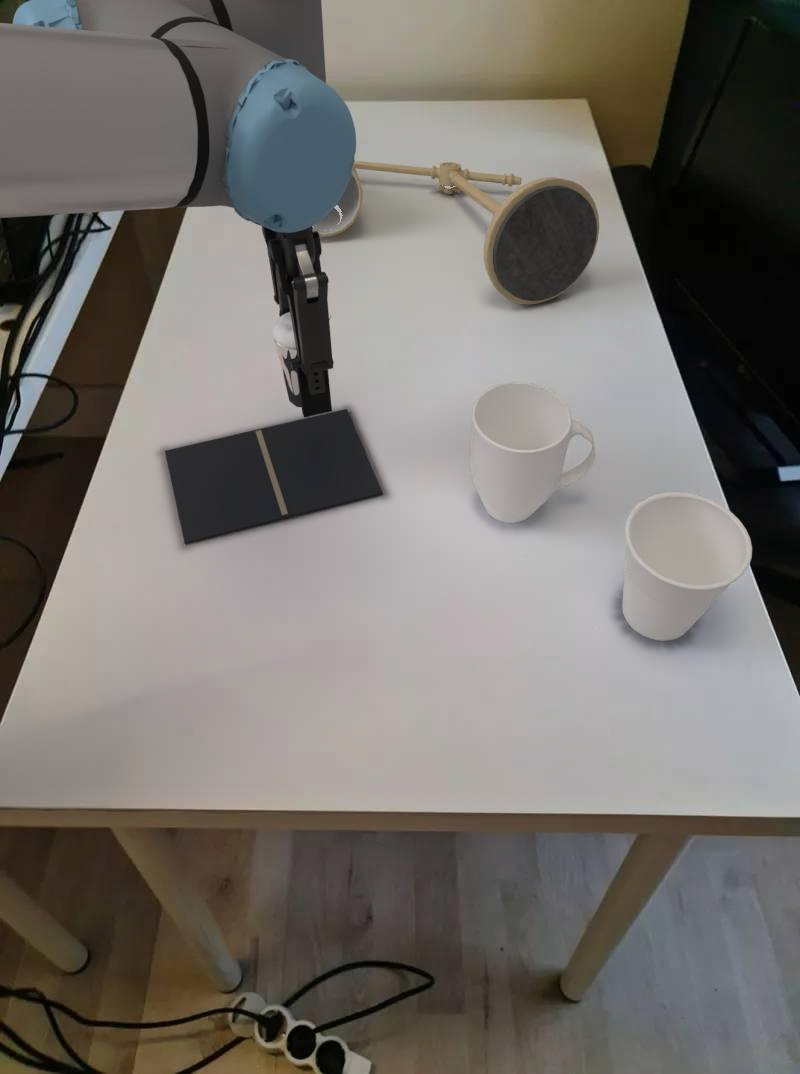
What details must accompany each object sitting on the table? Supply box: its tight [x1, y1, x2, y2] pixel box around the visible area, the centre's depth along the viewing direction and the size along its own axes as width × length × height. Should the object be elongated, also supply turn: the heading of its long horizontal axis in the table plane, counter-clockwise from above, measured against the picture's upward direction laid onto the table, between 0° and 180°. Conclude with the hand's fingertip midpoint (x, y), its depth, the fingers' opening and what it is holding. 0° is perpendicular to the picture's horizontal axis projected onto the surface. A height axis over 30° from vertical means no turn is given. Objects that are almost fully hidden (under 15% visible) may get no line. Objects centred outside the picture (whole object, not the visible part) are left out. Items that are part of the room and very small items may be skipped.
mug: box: [469, 381, 597, 524], centre depth 78 cm, size 12×9×12 cm
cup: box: [621, 491, 753, 642], centre depth 70 cm, size 10×10×11 cm
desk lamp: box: [313, 160, 600, 305], centre depth 110 cm, size 15×35×40 cm
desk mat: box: [164, 408, 384, 545], centre depth 86 cm, size 20×13×1 cm, turn 108°
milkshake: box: [271, 312, 332, 409], centre depth 76 cm, size 4×5×10 cm
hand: (310, 395), depth 79 cm, fingers closed on milkshake, 4 cm apart
